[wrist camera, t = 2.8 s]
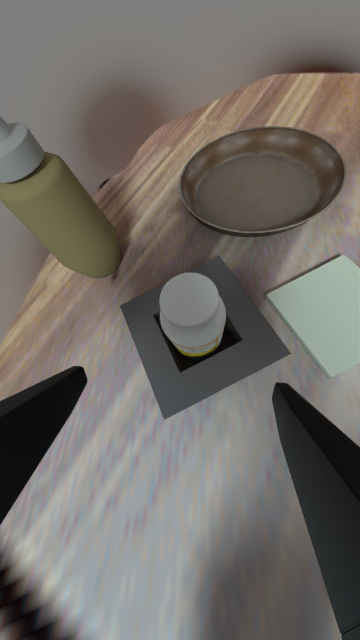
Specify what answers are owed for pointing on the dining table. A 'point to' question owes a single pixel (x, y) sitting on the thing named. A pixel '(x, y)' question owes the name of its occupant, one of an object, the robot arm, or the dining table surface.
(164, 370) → the holder
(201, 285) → the supplement bottle
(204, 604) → the dining table surface
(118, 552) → the dining table surface
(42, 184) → the squeeze bottle
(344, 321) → the tile
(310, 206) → the plant saucer
